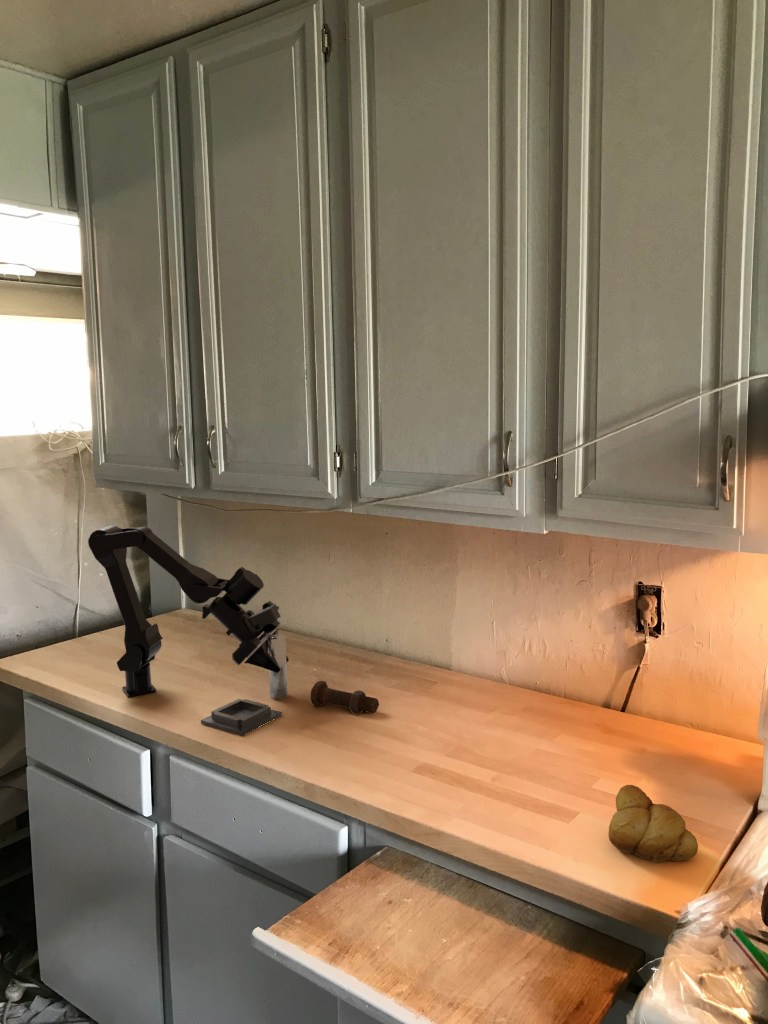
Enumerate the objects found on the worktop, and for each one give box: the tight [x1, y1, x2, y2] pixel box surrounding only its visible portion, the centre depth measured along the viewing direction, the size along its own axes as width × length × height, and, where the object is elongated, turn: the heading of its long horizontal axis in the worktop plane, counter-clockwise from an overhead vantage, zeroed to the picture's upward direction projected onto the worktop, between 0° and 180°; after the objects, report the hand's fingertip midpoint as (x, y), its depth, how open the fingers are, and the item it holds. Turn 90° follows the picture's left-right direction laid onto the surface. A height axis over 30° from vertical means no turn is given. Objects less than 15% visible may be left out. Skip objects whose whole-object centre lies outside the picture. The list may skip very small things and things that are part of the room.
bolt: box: [310, 680, 380, 714], centre depth 181 cm, size 6×5×15 cm
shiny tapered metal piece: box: [267, 633, 289, 700], centre depth 189 cm, size 4×4×14 cm
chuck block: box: [200, 698, 283, 737], centre depth 177 cm, size 12×12×2 cm
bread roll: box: [608, 784, 699, 862], centre depth 123 cm, size 13×10×8 cm
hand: (283, 666), depth 188 cm, fingers open, 6 cm apart
